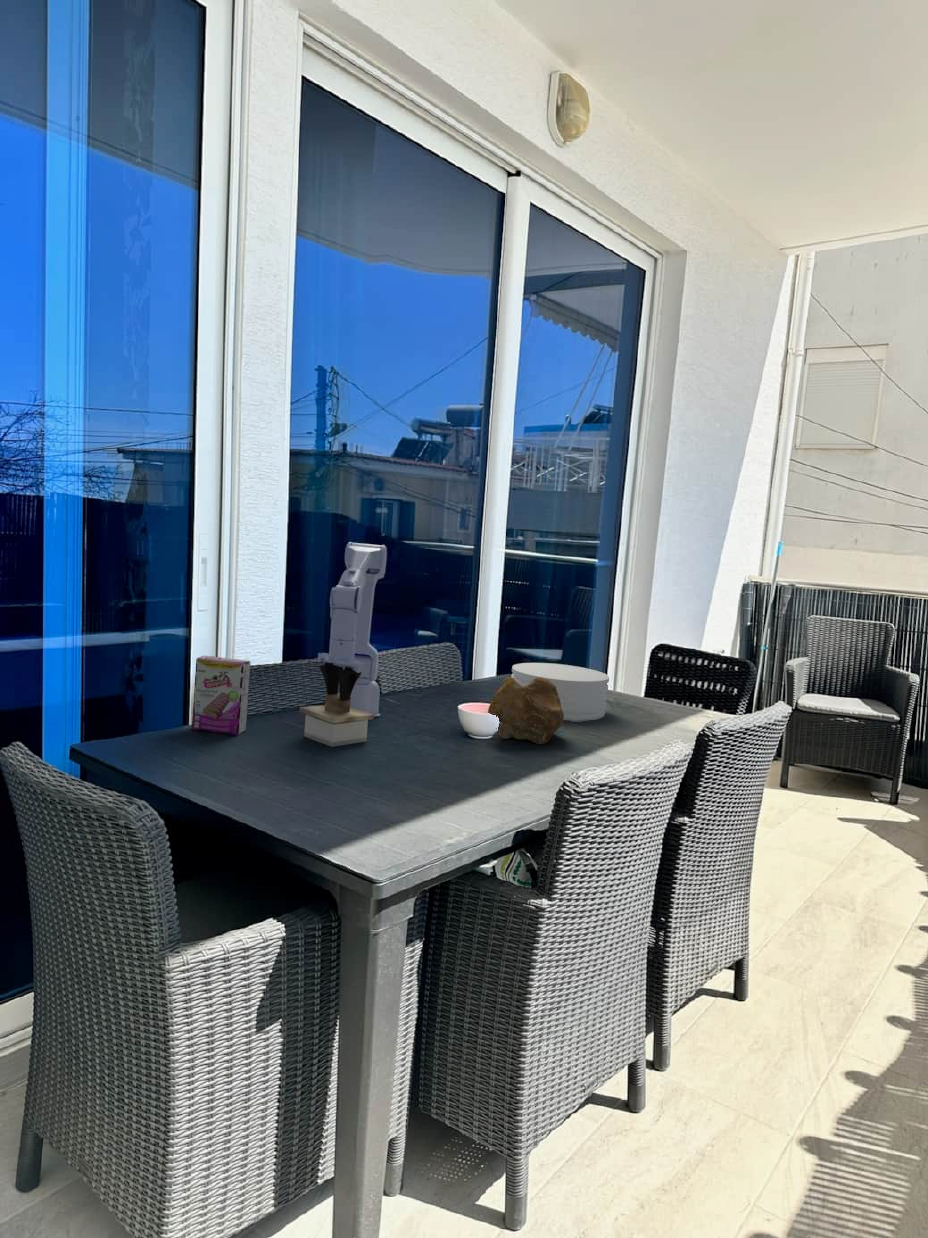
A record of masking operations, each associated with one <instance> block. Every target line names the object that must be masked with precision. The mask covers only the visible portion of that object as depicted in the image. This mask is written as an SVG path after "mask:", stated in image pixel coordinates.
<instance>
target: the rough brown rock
mask: <svg viewBox="0 0 928 1238" xmlns="http://www.w3.org/2000/svg"><path fill="white" fill-rule="evenodd" d="M488 713H490V714H492V715H496V717H497V716H498V718H499V722H500V723H499V727H498V731H496V732H497V734H498V736H499V737H500V738H501V739H510V738H514V739H516V740H523V741H524V740H529V741H531V743H533V744H534V743H535V744H537V745H539V744H543V745H545V744H546V743H548V742H549V741H550V740H551V738H552V737H553V736H554V734H555V733H556V732H557V731H558V730H559V729H560V728H561V727H562V726H563V724H564V721H563V718H564V713H563V710H562V709H561V703H560V699H559V696H558V692H557V689H556V686H555V685H554V684H553V683H552V682H551V681H549V680H547V679H545V678H542V677H536V678H535V679H533V680H532V681H531V682H530V683H529V684H528V685H527V686H521V685H520V684H519V683H517V682H516V681H515V679H514V678H512V677H511V676H506V677H505V678H504V679H503V681H502V683H501V686H500V687H499V689H498V690H497V691H496V692H495V693H494V696H493V698H492V700H491V701H490V704H489V706H488V709H487V714H488Z"/></svg>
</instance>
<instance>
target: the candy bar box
mask: <svg viewBox="0 0 928 1238" xmlns="http://www.w3.org/2000/svg"><path fill="white" fill-rule="evenodd" d="M250 674H251V661H250V660H246V659H237V658H230V657H229V658H228V657H222V656H221V657H220V656H213V655H212V656H211V655H202V656H199V657H198V656H197V658H196V659H195V672H194V687H193V689H194V690H193V691H194V692H193V705H192V718H191V720H192V722H191V729H192V730H197V731H202V732H212V733H218V734H219V733H220V734H229V735H235V736H236V735H237V736H240V735H241V734H242V733H243V732H245V731H246V730H247V716H248V715H247V714H248V702H249V701H248V700H249V686H250Z"/></svg>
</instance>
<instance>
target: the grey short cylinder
mask: <svg viewBox="0 0 928 1238" xmlns="http://www.w3.org/2000/svg"><path fill="white" fill-rule="evenodd" d="M511 667H512V668H511V672H512V674H511V676H510V677H512V678H514V679H515V681H516V682H517V683H519V684H520V685H521V686H527V685H528V684H529V683H530V682H531V681H532V680H533V679H535V678H536V677H542V678H545V679H547V680H549V681H551V682H552V683H553V684H554V685H555V686H556V689H557V692H558V696H559V699H560V703H561V709H562V710H563V713H564V718H563V719H573V720H580V719H592V718H597V717H600V716H602V715H604V714H605V715H606V709H607V702H606V701H607V700H608V693H607V692H608V691H609V685H608V683H609V681H610V676H609V675H608V674H607V673H604V672H601V671H598V670H595V669H590V668H586V667H581V666H577V665H575V666H574V665H570V664H569V665H568V664H561V663H551V662H550V663H548V662H522V663H516V664H513V665H512V666H511Z"/></svg>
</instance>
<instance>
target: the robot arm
mask: <svg viewBox="0 0 928 1238" xmlns="http://www.w3.org/2000/svg"><path fill="white" fill-rule="evenodd" d="M387 550H388V549H387V546H386V545H385V544H381V545H380V544H371V543H359V542H353V541H349V542H348V543H347V544H346V547H345V550H344V551H345V552H344V563H345V567H346V569H345V570H344V571H343V573H342V574H341V576H340V579H339V581H338V584H337V585H336V586H335V587H334V586H332V588H331V590H330V596H329V607H330V611H329V612H330V613H329V614H330V615H329V616H330V619H331V621H330V622H331V623H330V634H329V635H330V637H329V650H328V653H327V652H318V653H317V662H318V663H324V664H323V665H319V669H320V671H321V673H322V676H323V679H324V684H325V689H326V695H328V694H338V693H339V694H340V700H341V701H347V700H349V699H350V697H351V702H350V707H352V708H355V709H358V710H361V711H364V712H367V713H370V714H373V715H374V718H375V717H381V714H380V713H379V707H380V696H381V695H380V694H381V693H380V691H381V690H380V686H379V684H378V683H377V681H376V680H377V678H378V674H379V667H380V666H379V664H380V663H379V662H380V661H379V656H380V655H379V654H380V653H379V652H378V650H377V649H376V648H375V647H374V646H373V645H372V644H371V643H370V638H371V627H372V617H373V607H374V600H375V599H374V598H375V589H376V585H377V583H378V580H381V579H383V578H385V574H386V569H387V568H386V567H387V559H388V551H387ZM356 654H357V655H356ZM338 691H339V692H338Z"/></svg>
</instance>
